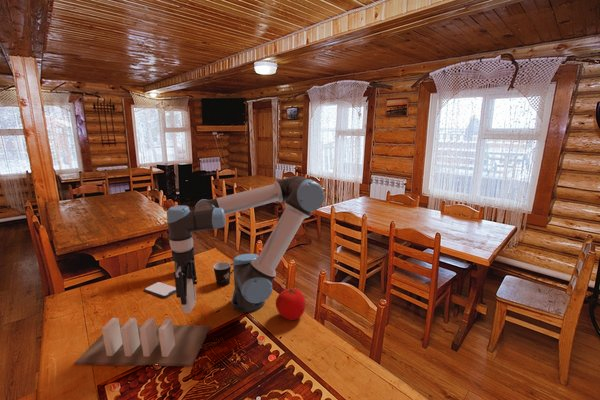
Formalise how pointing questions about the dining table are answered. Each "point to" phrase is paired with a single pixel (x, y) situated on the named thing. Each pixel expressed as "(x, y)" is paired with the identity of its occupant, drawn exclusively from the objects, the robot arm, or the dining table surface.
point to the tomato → (290, 304)
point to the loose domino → (190, 295)
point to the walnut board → (181, 354)
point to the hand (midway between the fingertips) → (189, 305)
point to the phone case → (161, 289)
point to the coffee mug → (222, 273)
